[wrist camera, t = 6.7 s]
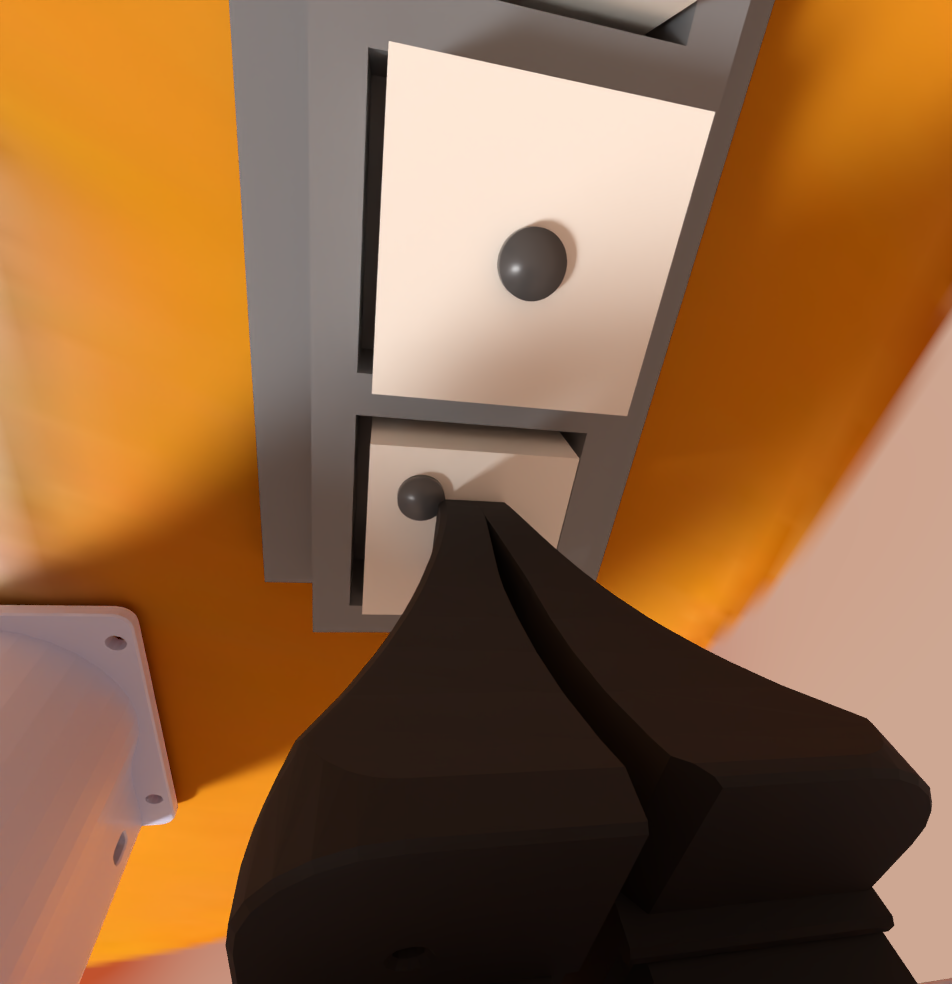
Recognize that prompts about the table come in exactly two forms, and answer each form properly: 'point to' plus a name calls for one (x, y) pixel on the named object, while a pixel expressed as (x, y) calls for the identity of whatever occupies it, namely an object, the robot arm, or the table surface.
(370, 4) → the tile board
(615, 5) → the tile two
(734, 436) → the table surface
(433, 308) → the tile one
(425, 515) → the tile three
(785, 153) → the table surface
